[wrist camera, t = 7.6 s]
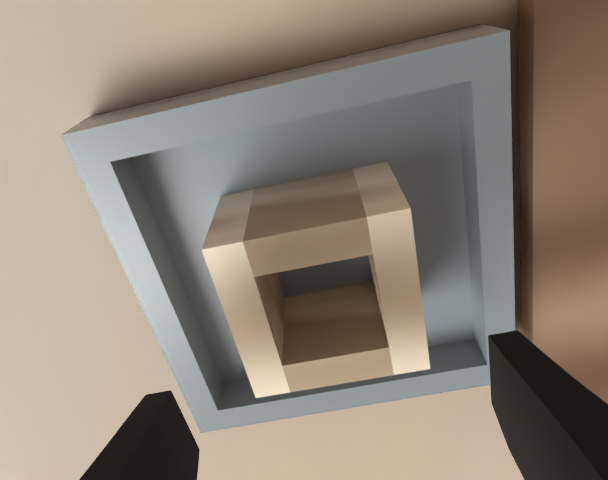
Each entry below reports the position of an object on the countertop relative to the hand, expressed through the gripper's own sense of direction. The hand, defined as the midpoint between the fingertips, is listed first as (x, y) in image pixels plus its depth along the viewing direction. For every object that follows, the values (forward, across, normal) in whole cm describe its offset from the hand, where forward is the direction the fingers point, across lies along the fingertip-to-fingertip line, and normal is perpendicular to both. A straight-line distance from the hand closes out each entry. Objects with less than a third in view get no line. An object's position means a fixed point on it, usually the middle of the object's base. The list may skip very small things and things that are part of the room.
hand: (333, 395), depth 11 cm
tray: (+7, 0, 0) cm, 7 cm away
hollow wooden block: (+6, 0, 0) cm, 6 cm away
